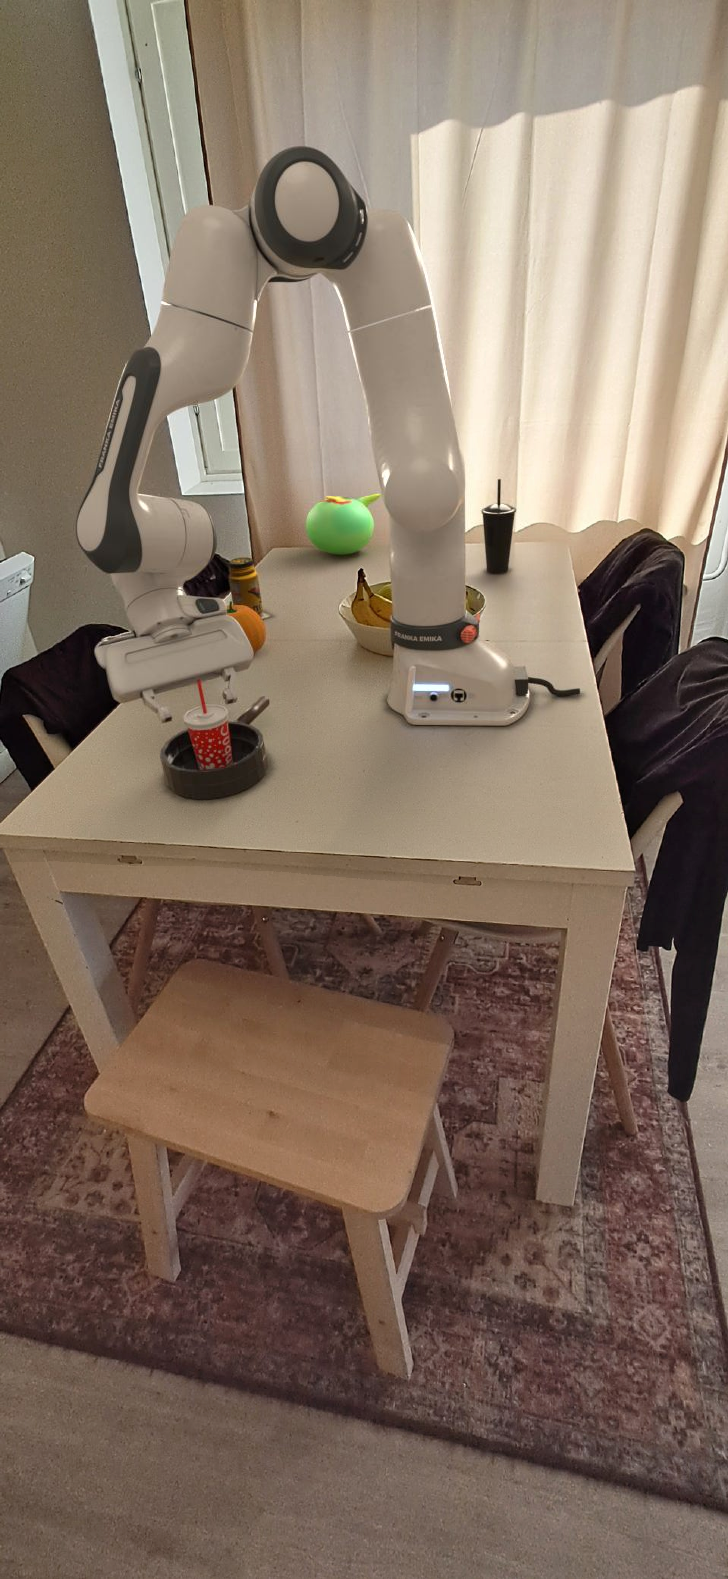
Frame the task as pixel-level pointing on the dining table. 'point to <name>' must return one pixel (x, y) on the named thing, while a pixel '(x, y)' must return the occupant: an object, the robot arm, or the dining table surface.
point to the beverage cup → (209, 734)
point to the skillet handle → (251, 713)
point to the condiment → (245, 585)
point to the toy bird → (341, 524)
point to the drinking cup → (498, 534)
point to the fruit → (249, 624)
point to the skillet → (216, 781)
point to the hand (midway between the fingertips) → (200, 711)
